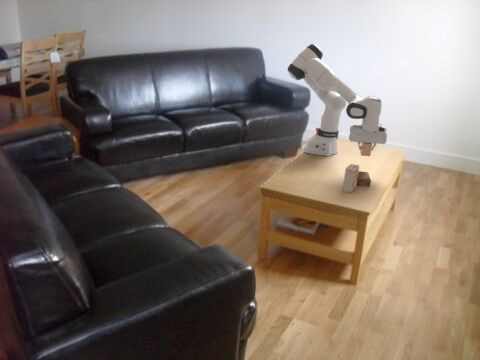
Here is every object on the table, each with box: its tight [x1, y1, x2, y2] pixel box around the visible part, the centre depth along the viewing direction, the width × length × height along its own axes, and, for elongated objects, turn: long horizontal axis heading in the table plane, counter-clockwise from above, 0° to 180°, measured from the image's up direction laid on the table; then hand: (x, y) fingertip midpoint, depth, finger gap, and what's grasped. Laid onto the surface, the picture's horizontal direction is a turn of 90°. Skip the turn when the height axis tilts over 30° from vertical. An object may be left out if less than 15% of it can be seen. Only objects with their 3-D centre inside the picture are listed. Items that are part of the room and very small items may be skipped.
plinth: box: [356, 170, 372, 187], centre depth 265 cm, size 11×11×4 cm
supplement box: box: [342, 163, 360, 194], centre depth 253 cm, size 8×5×13 cm, turn 148°
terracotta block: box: [359, 142, 373, 157], centre depth 272 cm, size 5×5×7 cm
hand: (365, 149), depth 272 cm, fingers closed on terracotta block, 5 cm apart
